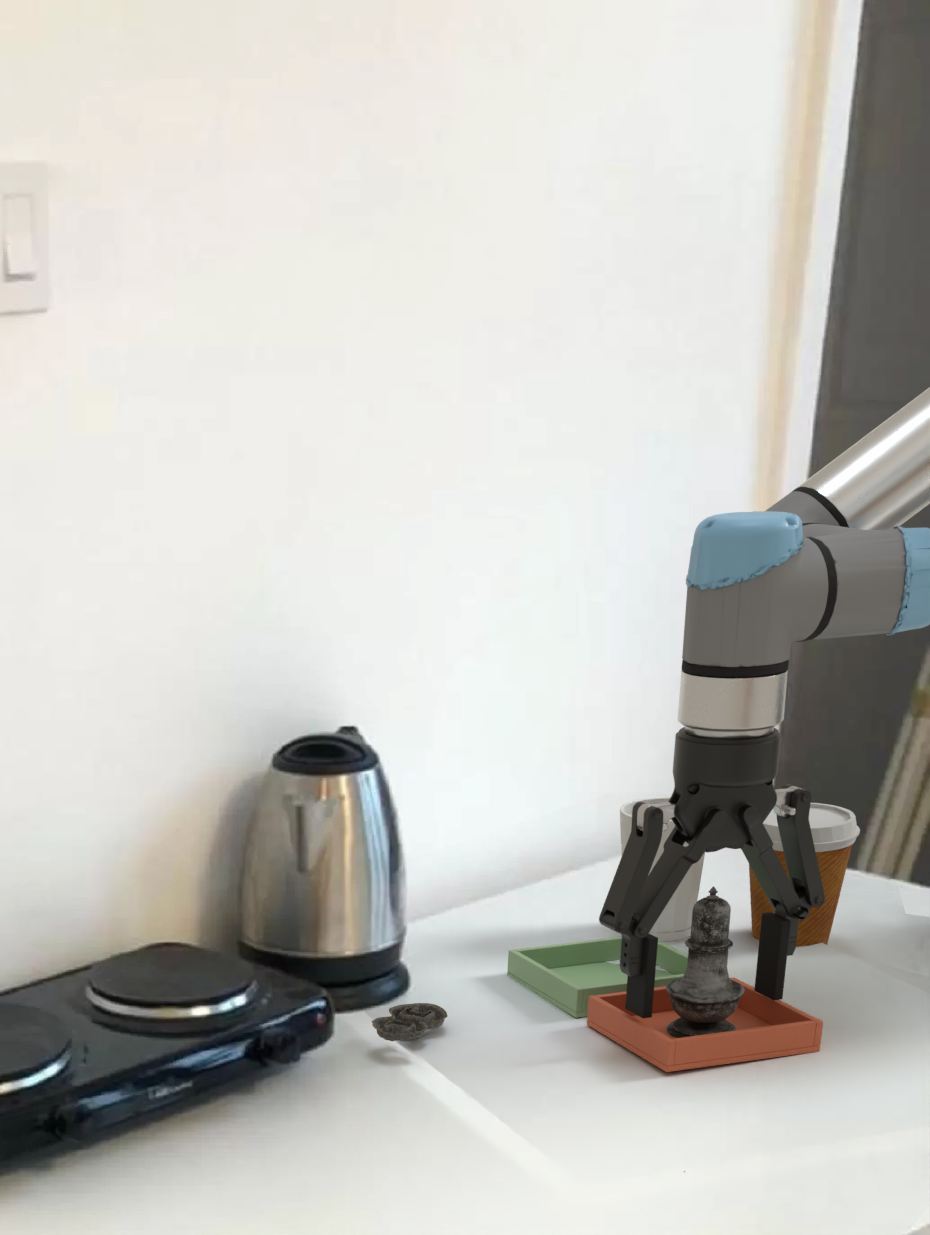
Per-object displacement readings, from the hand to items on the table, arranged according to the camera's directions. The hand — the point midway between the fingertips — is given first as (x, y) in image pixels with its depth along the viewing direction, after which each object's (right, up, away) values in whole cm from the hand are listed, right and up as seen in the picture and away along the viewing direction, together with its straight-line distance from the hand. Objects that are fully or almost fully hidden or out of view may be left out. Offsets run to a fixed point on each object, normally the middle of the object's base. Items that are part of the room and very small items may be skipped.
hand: (703, 1004), depth 163 cm
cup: (+6, +8, +27) cm, 29 cm away
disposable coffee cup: (+16, +7, +22) cm, 28 cm away
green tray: (-3, +3, +14) cm, 14 cm away
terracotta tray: (0, -3, +1) cm, 3 cm away
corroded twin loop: (-22, -2, +7) cm, 23 cm away
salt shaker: (0, -2, +1) cm, 2 cm away
